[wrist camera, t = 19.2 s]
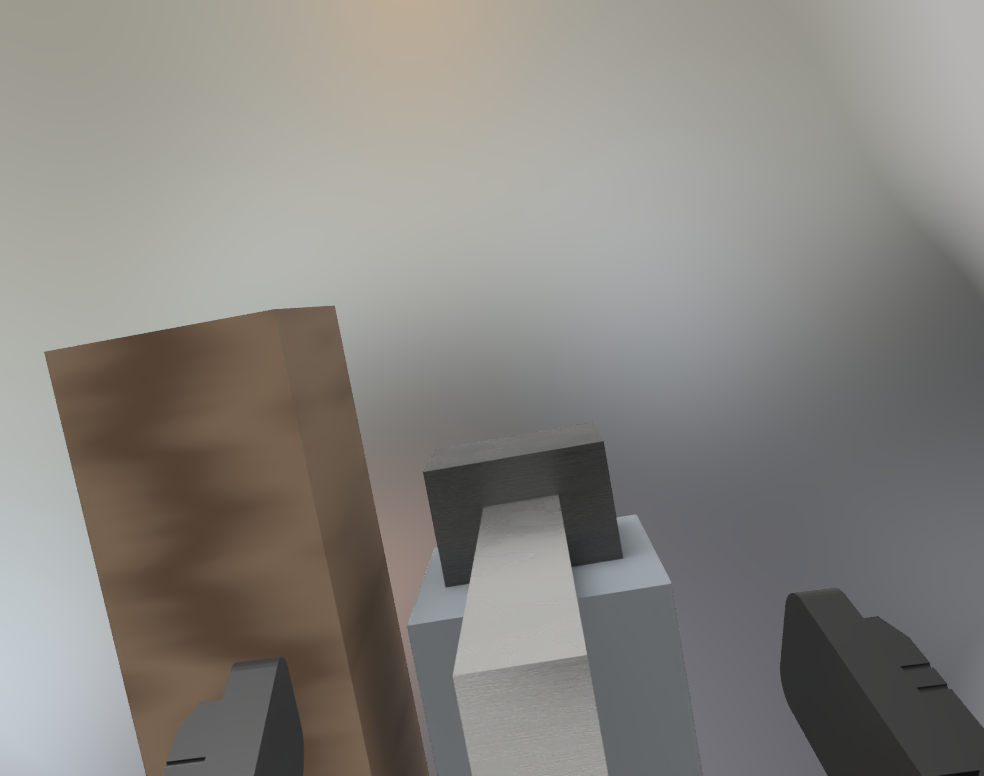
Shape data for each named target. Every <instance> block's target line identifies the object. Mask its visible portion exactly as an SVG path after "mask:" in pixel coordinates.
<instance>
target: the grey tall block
mask: <svg viewBox="0 0 984 776" xmlns="http://www.w3.org/2000/svg"><path fill="white" fill-rule="evenodd" d="M617 524H618V530H619V536H620V541H621V547H622V553H623V559H618V560H612V561H606V562H600V563H594V564H588V565H581V566H575V567H571V568H572V574H573V579H574V585H575V590H576V596H577V601H578V607H579V613H580V618H581V624H582V629H583V635H584V640H585V646H586V651H587V657H588V663H589V668H590V674H591V680H592V685H593V691H594V697H595V702H596V708H597V714H598V719H599V725H600V731H601V737H602V742H603V748H604V754H605V759H606V765H607V771H608V776H703V773H702V768H701V761H700V754H699V748H698V743H697V737H696V730H695V724H694V718H693V712H692V705H691V699H690V693H689V688H688V682H687V675H686V669H685V662H684V656H683V651H682V645H681V639H680V632H679V626H678V620H677V613H676V608H675V601H674V595H673V589H672V583H671V581H670V579H669V577H668V575H667V574H666V572H665V570H664V568H663V566H662V564H661V562H660V560H659V558H658V556H657V554H656V552H655V550H654V548H653V546H652V544H651V542H650V540H649V538H648V536H647V534H646V532H645V530H644V528H643V527H642V525H641V523H640V521H639V519H638V517H637V515H630V516H624V517H618V518H617ZM468 589H469V584H465V585H459V586H452V587H446V588H445V582H444V577H443V572H442V567H441V562H440V557H439V551H438V547H436V548H434V551H433V554H432V557H431V559H430V563H429V565H428V568H427V571H426V574H425V576H424V579H423V582H422V585H421V588H420V590H419V593H418V596H417V599H416V602H415V605H414V608H413V610H412V613H411V616H410V619H409V621H408V624H407V628H408V633H409V638H410V643H411V648H412V653H413V658H414V663H415V668H416V673H417V678H418V683H419V688H420V693H421V698H422V703H423V708H424V713H425V718H426V723H427V728H428V732H429V738H430V743H431V748H432V753H433V758H434V763H435V768H436V773H437V776H472V773H471V768H470V762H469V757H468V752H467V747H466V742H465V737H464V732H463V727H462V722H461V716H460V711H459V706H458V701H457V696H456V691H455V686H454V681H453V671H454V666H455V660H456V655H457V649H458V644H459V638H460V633H461V627H462V622H463V616H464V611H465V605H466V600H467V594H468Z"/></svg>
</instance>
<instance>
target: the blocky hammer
mask: <svg viewBox="0 0 984 776" xmlns="http://www.w3.org/2000/svg"><path fill="white" fill-rule="evenodd" d="M423 474H424V479H425V484H426V490H427V495H428V500H429V505H430V510H431V515H432V520H433V525H434V530H435V536H436V541H437V546H438V551H439V557H440V562H441V567H442V572H443V577H444V582H445V588H446V587H452V586H459V585H465V584H469V589H468V594H467V600H466V605H465V611H464V616H463V622H462V627H461V633H460V638H459V644H458V649H457V655H456V660H455V666H454V671H453V681H454V686H455V691H456V696H457V701H458V706H459V711H460V716H461V722H462V727H463V732H464V737H465V742H466V747H467V752H468V757H469V762H470V768H471V773H472V776H608V771H607V765H606V759H605V754H604V748H603V742H602V737H601V731H600V725H599V719H598V714H597V708H596V702H595V697H594V691H593V685H592V680H591V674H590V668H589V663H588V657H587V651H586V646H585V640H584V635H583V629H582V624H581V618H580V613H579V607H578V601H577V596H576V590H575V585H574V579H573V574H572V568H571V567H575V566H581V565H588V564H594V563H600V562H606V561H612V560H618V559H623V553H622V547H621V541H620V536H619V530H618V524H617V518H616V512H615V506H614V501H613V494H612V488H611V483H610V476H609V470H608V466H607V459H606V453H605V447H604V441H603V439H602V437H601V436H600V434H599V432H598V430H597V428H596V427H595V425H594V423H593V422H591V423H584V424H579V425H573V426H567V427H561V428H555V429H550V430H545V431H538V432H533V433H527V434H521V435H515V436H509V437H503V438H498V439H492V440H486V441H480V442H474V443H469V444H463V445H457V446H452V447H445V448H440V449H436V450H435V452H434V453H433V455H432V457H431V459H430V461H429V462H428V464H427V466H426V468H425V470H424V471H423Z"/></svg>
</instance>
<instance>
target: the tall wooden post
mask: <svg viewBox="0 0 984 776" xmlns="http://www.w3.org/2000/svg"><path fill="white" fill-rule="evenodd" d="M44 353H45V357H46V361H47V366H48V370H49V374H50V378H51V382H52V386H53V390H54V394H55V399H56V403H57V407H58V411H59V415H60V420H61V424H62V428H63V432H64V436H65V440H66V445H67V449H68V453H69V457H70V461H71V465H72V469H73V473H74V478H75V482H76V486H77V490H78V494H79V498H80V503H81V507H82V511H83V515H84V519H85V523H86V527H87V532H88V536H89V540H90V544H91V548H92V552H93V556H94V561H95V565H96V569H97V573H98V577H99V581H100V586H101V590H102V594H103V598H104V602H105V606H106V611H107V615H108V619H109V623H110V627H111V631H112V636H113V640H114V644H115V648H116V652H117V656H118V660H119V665H120V669H121V673H122V677H123V681H124V685H125V689H126V694H127V697H128V702H129V706H130V710H131V714H132V719H133V723H134V727H135V731H136V735H137V739H138V744H139V747H140V752H141V756H142V760H143V764H144V768H145V773H146V776H162V773H163V770H164V768H166V765H167V763H166V761H167V758H168V755H169V752H170V749H171V746H172V743H173V740H174V737H175V734H176V731H177V730H178V728H179V727H180V726H181V725H182V723H183V722H184V721H185V720H186V718H187V717H188V716H189V715H190V714H191V712H192V711H193V710H194V709H195V707H196V706H197V705H198V704H199V702H204V701H212V700H220V699H222V698H223V695H224V691H225V688H226V684H227V681H228V677H229V674H230V671H231V668H232V666H233V664H234V663H236V662H243V661H251V660H260V659H268V658H276V657H284V658H285V660H286V662H287V666H288V669H289V674H290V678H291V682H292V687H293V691H294V695H295V700H296V704H297V709H298V713H299V717H300V722H301V726H302V731H303V739H304V771H303V776H429V772H428V767H427V762H426V757H425V752H424V747H423V743H422V738H421V732H420V727H419V723H418V717H417V713H416V708H415V702H414V698H413V693H412V688H411V683H410V678H409V673H408V668H407V663H406V658H405V653H404V648H403V643H402V638H401V633H400V628H399V623H398V618H397V613H396V608H395V603H394V598H393V594H392V588H391V583H390V579H389V573H388V568H387V564H386V558H385V553H384V548H383V544H382V539H381V534H380V529H379V524H378V519H377V514H376V509H375V505H374V500H373V494H372V489H371V484H370V479H369V474H368V469H367V464H366V459H365V454H364V449H363V444H362V439H361V434H360V429H359V424H358V419H357V414H356V410H355V404H354V400H353V394H352V390H351V385H350V380H349V375H348V370H347V365H346V360H345V355H344V350H343V345H342V340H341V335H340V330H339V325H338V320H337V315H336V310H335V306H323V307H306V308H289V309H274V310H268V311H263V312H257V313H252V314H247V315H241V316H236V317H230V318H225V319H219V320H214V321H209V322H204V323H198V324H193V325H187V326H182V327H176V328H171V329H166V330H160V331H155V332H149V333H144V334H138V335H133V336H128V337H122V338H117V339H111V340H106V341H100V342H95V343H90V344H85V345H79V346H74V347H68V348H63V349H57V350H52V351H46V352H44Z"/></svg>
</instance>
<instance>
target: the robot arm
mask: <svg viewBox="0 0 984 776" xmlns="http://www.w3.org/2000/svg"><path fill="white" fill-rule="evenodd" d="M780 674H781V682H782V686H783V690H784V694H785V697H786V700H787V702H788V705H789V707H790V709H791V711H792V713H793V714H794V716H795V718H796V720H797V721H798V723H799V725H800V727H801V729H802V730H803V732H804V734H805V736H806V738H807V739H808V741H809V743H810V745H811V747H812V748H813V750H814V752H815V754H816V756H817V757H818V759H819V761H820V763H821V764H822V766H823V768H824V770H825V772H826V773H827V775H828V776H984V728H983V727H982V726H981V725H980V723H979V722H978V721H977V720H976V719H975V717H974V716H973V715H972V714H971V712H970V711H969V710H968V709H967V707H966V706H965V705H964V704H963V703H962V701H961V700H960V699H959V698H958V697H957V695H956V694H955V693H954V692H953V690H951V689H948V687H947V683H946V682H945V681H944V680H943V678H942V677H941V676H940V675H939V673H938V672H937V671H936V670H935V669H934V668H931V667H930V663H929V661H928V660H927V659H926V657H925V656H924V655H923V654H922V653H921V651H920V650H919V649H918V648H917V647H916V645H915V644H914V643H913V642H912V640H911V639H910V638H909V637H908V636H906V635H905V634H903V633H902V632H900V631H899V630H897V629H896V628H894V627H893V626H891V625H890V624H888V623H887V622H885V621H884V620H882V619H881V618H879V617H878V616H877V617H870V618H863V617H862V616H861V615H860V613H859V612H858V611H857V609H856V608H855V607H854V606H853V604H852V603H851V602H850V600H849V599H848V598H847V596H846V595H845V594H844V593H843V592H842V591H841V590H840V589H838V588H831V589H822V590H814V591H806V592H797V593H791V594H789V595H788V597H787V600H786V605H785V617H784V628H783V639H782V650H781V662H780ZM166 763H167V765H166V768H164V770H163V773H162V776H303V771H304V739H303V731H302V726H301V722H300V717H299V713H298V709H297V704H296V700H295V695H294V691H293V687H292V682H291V678H290V674H289V669H288V666H287V662H286V660H285V658H284V657H276V658H268V659H260V660H251V661H243V662H236V663H234V664H233V666H232V668H231V671H230V674H229V677H228V681H227V684H226V688H225V691H224V695H223V698H222V699H220V700H212V701H204V702H199V704H198V705H197V706H196V707H195V709H194V710H193V711H192V712H191V714H190V715H189V716H188V717H187V718H186V720H185V721H184V722H183V723H182V725H181V726H180V727H179V728H178V730H177V731H176V734H175V737H174V740H173V743H172V746H171V749H170V752H169V755H168V758H167V761H166Z"/></svg>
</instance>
